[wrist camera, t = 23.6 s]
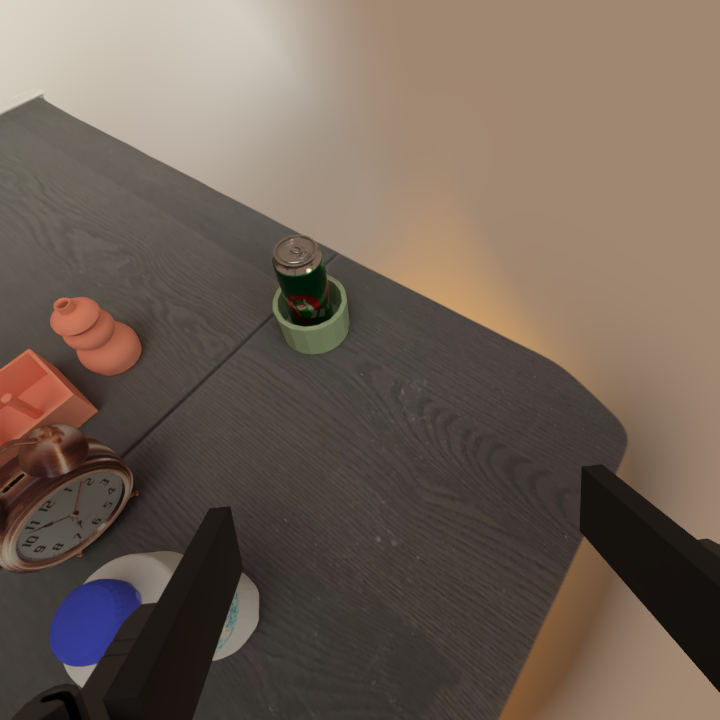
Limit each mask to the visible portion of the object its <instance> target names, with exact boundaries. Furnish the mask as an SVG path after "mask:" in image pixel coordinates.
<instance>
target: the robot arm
mask: <svg viewBox="0 0 720 720" xmlns="http://www.w3.org/2000/svg"><path fill="white" fill-rule="evenodd" d="M580 532H581V533H582V534H583V535H584V536H585V537H586V538H587V540H588V541H589V542H590V543H591V544H592V545H593V547H594V548H595V549H596V550H597V551H598V552H599V553H600V555H601V556H602V557H603V558H604V559H605V560H606V561H607V563H608V564H609V565H610V566H611V567H612V569H613V570H614V571H615V572H616V573H617V574H618V575H619V577H620V578H621V579H622V580H623V581H624V582H625V584H626V585H627V586H628V587H629V588H630V589H631V590H632V592H633V593H634V594H635V595H636V596H637V597H638V599H639V600H640V601H641V602H642V603H643V604H644V606H645V607H646V608H647V609H648V610H649V611H650V612H651V614H652V615H653V616H654V617H655V618H656V619H657V620H658V622H659V623H660V624H661V625H662V626H663V627H664V629H665V630H666V631H667V632H668V633H669V634H670V636H671V637H672V638H673V639H674V640H675V641H676V642H677V644H678V645H679V646H680V647H681V648H682V649H683V651H684V652H685V653H686V654H687V655H688V656H689V658H690V659H691V660H692V661H693V662H694V663H695V665H696V666H697V667H698V668H699V669H700V670H701V671H702V672H703V674H704V675H705V676H706V677H707V678H708V679H709V681H710V682H711V683H712V684H713V685H714V686H715V688H716V689H717V690H718V691H719V692H720V545H719V544H717V543H715V542H713V541H711V540H709V539H701V540H697V539H695V538H694V537H693V536H692V535H690V534H689V533H688V532H686V531H685V530H684V529H683V528H681V527H680V526H679V525H677V524H676V523H675V522H674V521H673V520H671V519H670V518H669V517H668V516H666V515H665V514H664V513H663V512H661V511H660V510H659V509H658V508H656V507H655V506H654V505H653V504H651V503H650V502H649V501H647V500H646V499H645V498H644V497H643V496H641V495H640V494H639V493H637V492H636V491H635V490H633V489H632V488H631V487H630V486H629V485H627V484H626V483H625V482H623V481H622V480H621V479H620V478H618V477H617V476H616V475H615V474H614V473H612V472H611V471H610V470H609V469H607V468H606V467H605V466H604V465H602V464H601V465H592V466H584V467H582V473H581V507H580ZM242 571H243V565H242V560H241V555H240V551H239V546H238V541H237V536H236V532H235V527H234V522H233V517H232V513H231V508H230V506H229V507H220V508H211V509H209V511H208V512H207V514H206V516H205V518H204V520H203V521H202V523H201V525H200V527H199V529H198V530H197V532H196V534H195V536H194V537H193V539H192V541H191V543H190V545H189V546H188V548H187V550H186V552H185V554H184V555H183V557H182V559H181V561H180V562H179V564H178V566H177V568H176V570H175V571H174V573H173V575H172V577H171V579H170V580H169V582H168V584H167V586H166V587H165V589H164V591H163V593H162V595H161V596H160V598H159V600H158V602H156V603H147V604H141V605H140V606H139V607H138V608H137V609H136V610H134V611H133V612H132V613H131V614H130V615H129V616H128V617H127V618H126V619H125V620H124V622H123V623H122V625H121V627H120V628H119V630H118V631H117V633H116V635H115V636H114V638H113V642H111V643H110V644H109V646H108V647H107V649H106V651H105V652H104V656H103V657H101V659H100V660H99V662H98V663H97V665H96V667H95V668H94V670H93V671H92V673H91V675H90V676H89V678H88V680H87V681H86V683H85V684H84V686H83V688H82V689H81V691H80V690H79V689H78V687H77V686H76V685H71V684H63V685H58V686H54V687H52V688H50V689H48V690H46V691H44V692H42V693H40V694H39V695H37V696H36V697H35V698H33V699H32V700H31V701H29V702H28V703H27V704H25V705H24V706H23V707H22V708H21V709H20V711H19V712H18V713H17V714H16V715H15V716H14V717H13V718H12V719H11V720H192V718H193V715H194V713H195V710H196V707H197V704H198V701H199V698H200V695H201V692H202V689H203V686H204V683H205V680H206V677H207V674H208V671H209V668H210V665H211V663H212V660H213V657H214V654H215V651H216V648H217V645H218V642H219V639H220V636H221V633H222V630H223V627H224V624H225V621H226V618H227V615H228V613H229V610H230V607H231V604H232V601H233V598H234V595H235V592H236V589H237V586H238V583H239V580H240V577H241V574H242Z"/></svg>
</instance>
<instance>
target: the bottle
mask: <svg viewBox="0 0 720 720" xmlns="http://www.w3.org/2000/svg"><path fill="white" fill-rule="evenodd" d="M182 557H183V555H182V554H179V553H176V552H171V551H159V552H152V553H139V554H131V555H126V556H122V557H120V558H117V559H114V560H112V561H110V562H109V563H107V564H106V565H104V566H102V567H101V568H100V569H98V570H97V571H96V572H95V573H93V574H92V575H91V576H90V577H89V578H88V579H87V580H86V582H85V583H84V584H83V585H81V586H79V587H78V588H76V589H75V590H74V591H72V592H71V593H70V594H69V595H68V596H67V597H66V599H65V600H64V601H63V602H62V603H61V605H60V607H59V608H58V609H57V612H56V614H55V616H54V617H53V621H52V624H51V628H50V633H49V635H50V641H49V642H50V644H51V649H52V651H53V654H54V655H55V656H56V657H57V659H58V660H59V661H61V662H62V663H63V664H64V666H65V668H66V671H67V673H68V674H69V676H70V677H71V678H72V679H73V680H74V682H75V683H77V684H78V685H80V686H81V687H82V688H83V686H84V684H85V683H86V681H87V680H88V678H89V676H90V675H91V673H92V671H93V670H94V668H95V667H96V665H97V663H98V662H99V660H100V659H101V657H103V656H104V652H105V651H106V649H107V647H108V646H109V644H110V643H111V642H113V638H114V636H115V635H116V633H117V631H118V630H119V628H120V627H121V625H122V623H123V622H124V620H125V619H126V618H127V617H128V616H129V615H130V614H131V613H132V612H133V611H134V610H136V609H137V608H138V607H139V606H140V605H141V604H147V603H156V602H158V600H159V598H160V596H161V595H162V593H163V591H164V589H165V587H166V586H167V584H168V582H169V580H170V579H171V577H172V575H173V573H174V571H175V570H176V568H177V566H178V564H179V562H180V561H181V559H182ZM258 620H259V592H258V589H257V587H256V586H255V584H254V583H253V582H252V581H251V580H250V578H249V577H248V576H246V575H245V574H244V573H243V572H242V574H241V577H240V580H239V583H238V586H237V589H236V592H235V595H234V598H233V601H232V604H231V607H230V610H229V613H228V615H227V618H226V621H225V624H224V627H223V630H222V633H221V636H220V639H219V642H218V645H217V648H216V651H215V654H214V657H213V660H212V661H214V660H218V659H222V658H224V657H227V656H229V655H231V654H233V653H235V652H236V651H237V650H239V649H240V648H241V647H242V646H243V645H244V643H245V642H246V641H247V640H248V638H249V637H250V635H251V634H252V632H253V631H254V630H255V628H256V626H257V623H258Z"/></svg>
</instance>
